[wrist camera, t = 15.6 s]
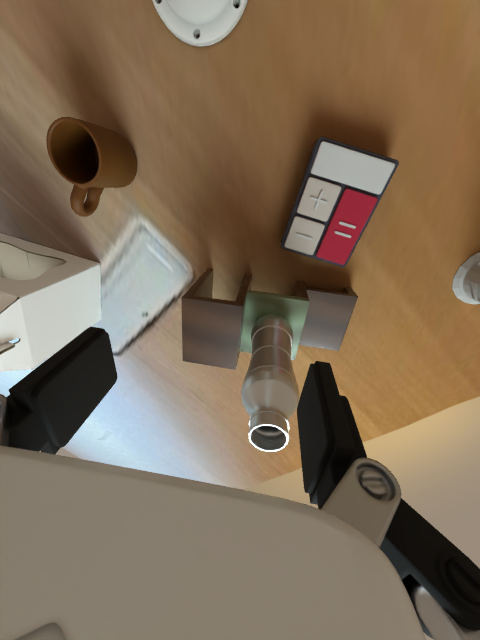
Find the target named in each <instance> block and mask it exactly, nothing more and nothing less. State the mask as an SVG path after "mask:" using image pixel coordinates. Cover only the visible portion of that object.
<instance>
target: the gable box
mask: <svg viewBox="0 0 480 640" xmlns="http://www.w3.org/2000/svg"><path fill="white" fill-rule="evenodd" d="M99 320H101V275H100V263H97V262H94V261H91V260H88V259H84V258H81V257H78V256H74V255H71V254H68V253H65V252H61V251H58V250H55V249H51V248H48V247H45V246H42V245H38V244H35V243H32V242H28V241H25V240H22V239H19V238H15V237H12V236H9V235H5V234H2V233H0V372H1V371H13V370H25V369H34V368H36V367H37V366H38V365H40V364H41V363H42V362H44V361H45V360H46V359H48V358H49V357H51V356H52V355H53V354H55V353H56V352H57V351H59V350H60V349H61V348H63V347H64V346H65V345H67V344H68V343H69V342H71V341H72V340H73V339H74V338H76V337H77V336H78V335H80V334H81V333H82V332H83V331H85V330H86V329H87V328H89V327H91V326H93V325H94V324H95V323H97V322H98V321H99ZM16 338H19V341H18V342H16V343H10V342H8V341H11V340H14V339H16Z"/></svg>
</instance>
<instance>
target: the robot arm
mask: <svg viewBox="0 0 480 640" xmlns="http://www.w3.org/2000/svg"><path fill="white" fill-rule="evenodd" d="M160 1H162V2H161V3H160ZM247 1H248V0H153V3H154V6H155V8H156V10H157V12H158V14H159V15H160V17H161V19H162V20H163V22H164V23H165V25H166V26H167V28H168V29H169V30H170V31H171V32H172V33H173V34H174V35H175V36H176V37H177V38H179V39H180V40H182V41H183V42H185V43H187V44H190V45H193V46H200V47H202V46H210V45H212V44H215V43H217V42H219V41H221V40H222V39H223V38H225V37H226V36H227V35H228V34H229V33H230V32H231V31H232V30H233V28H234V27H235V26H236V24H237V23H238V21H239V19H240V18H241V16H242V14H243V12H244V9H245V7H246V4H247ZM237 5H239V8H237V9H236V6H237ZM198 35H200V37H199V38H198V39H197V36H198ZM116 380H117V372H116V367H115V363H114V358H113V353H112V348H111V344H110V339H109V335H108V333H107V332H106V331H105V330H104V329H102V328H96V327H89V328H87V329H86V330H85V331H83V332H82V333H81V334H80V335H78V336H77V337H76V338H74V339H73V340H72V341H71V342H69V343H68V344H67V345H65V346H64V347H63V348H62V349H60V350H59V351H58V352H56V353H55V354H54V355H53V356H51V357H50V358H49V359H48V360H46V361H45V362H44V363H42V364H41V365H40V366H39V367H37V368H36V369H35V370H33V371H32V372H31V373H30V374H28V375H27V376H26V377H24V378H23V379H22V380H21V381H19V382H18V383H17V384H16V385H14V386H13V387H12V388H10V389H9V392H10V395H9V396H8V397H5V396H4V395H1V394H0V640H426V638H425V635H424V633H425V634H426V635H427V636H429V637H431V638H432V639H434V640H480V569H479V568H478V567H477V566H476V565H475V564H474V563H473V562H472V561H471V560H470V559H469V558H468V557H467V556H466V555H465V554H464V553H462V552H461V551H460V550H459V549H458V548H457V547H456V546H455V545H453V544H452V543H451V542H450V541H449V540H448V539H447V538H446V537H444V536H443V535H442V534H441V533H440V532H439V531H438V530H437V529H435V528H434V527H433V526H432V525H431V524H430V523H428V522H427V521H426V520H425V519H424V518H423V517H422V516H421V515H420V514H418V513H417V512H416V511H415V510H414V509H413V508H411V506H409V505H408V504H407V503H406V502H405V501H404V500H403V499H402V498H401V489H400V486H399V484H398V482H397V479H396V478H395V477H394V475H393V474H392V473H391V471H389V470H388V469H387V468H386V467H385V466H384V465H382V464H381V463H379V462H378V461H375V460H373V459H370V458H367V455H366V452H365V450H364V446H363V443H362V440H361V437H360V434H359V431H358V428H357V425H356V422H355V419H354V416H353V413H352V410H351V407H350V404H349V401H348V399H347V398H346V397H345V396H340V395H339V391H338V388H337V385H336V382H335V378H334V375H333V372H332V368H331V365H330V363H326V362H319V361H316V362H315V364H310V367H309V370H308V374H307V377H306V380H305V383H304V387H303V390H302V393H301V396H300V400H299V403H298V407H297V418H298V428H299V439H300V450H301V460H302V471H303V481H304V489H305V492H306V493H309V496H310V503H313V504H317V505H318V509H317V508H314V507H312V506H309V505H306V504H302V503H298V502H295V501H291V500H287V499H283V498H279V497H274V496H269V495H264V494H260V493H255V492H250V491H245V490H241V489H236V488H230V487H225V486H220V485H215V484H210V483H205V482H199V481H194V480H189V479H184V478H179V477H173V476H168V475H163V474H157V473H152V472H147V471H142V470H136V469H131V468H125V467H120V466H115V465H109V464H104V463H99V462H93V461H88V460H82V459H76V458H71V457H65V456H60V455H55V454H56V453H57V451H58V450H59V449H60V448H61V447H64V446H65V445H66V444H67V443H68V442H69V440H70V439H71V438H72V437H73V435H74V434H75V433H76V432H77V430H78V429H79V428H80V427H81V425H82V424H83V423H84V422H85V420H86V419H87V418H88V417H89V415H90V414H91V413H92V412H93V410H94V409H95V408H96V406H97V405H98V404H99V403H100V401H101V400H102V399H103V398H104V396H105V395H106V394H107V393H108V391H109V390H110V389H111V388H112V386H113V385H114V384H115V382H116ZM39 451H41V452H39ZM423 632H424V633H423Z"/></svg>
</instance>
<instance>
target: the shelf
mask: <svg viewBox="0 0 480 640" xmlns="http://www.w3.org/2000/svg"><path fill="white" fill-rule="evenodd" d="M251 280H252V275H250V274H246V275H245V277H244V280H243V283H242V286H241V288H240V291H239V294H238V297H237V299H236V302H235V301H228V300H221V299H214V298H212V285H213V269H206V271H205V272H204V273H203V274H202V275H201V276H200V277H199V279H198V280H197V281H196V282H195V283H194V284H193V285H192V286H191V288H190V289H189V290H188V291H187V292H186V293H185V294H184V295H183V297H182V341H183V361H186V362H192V363H198V364H204V365H210V366H216V367H222V368H228V369H235V370H236V366H237V362H238V358H239V353H240V351H242V352H248V353H252V344H251V331H252V328H253V326H254V324H255V323H256V321H257V320H258V319H259V318H260V317H262V316H264V315H267V314H277V315H280V316H282V317H284V318H285V319H286V320H287V321H288V322H289V323H290V325H291V327H292V330H293V334H294V337H293V345H292V348H291V359H292V360H295V357H296V353H297V350H298V346H299V345H305V346H311V347H318V348H324V349H331V350H337V351H339V349H340V346H341V343H342V340H343V337H344V335H345V332H346V329H347V326H348V323H349V321H350V318H351V315H352V312H353V309H354V307H355V304H356V301H357V298H358V296H357V295H356V293H355V292H354V291H353V289H352V288H346V287H345V289H344V292H337V291H329V290H322V289H315V288H308V287H305V284H304V282H302V281H297V285H296V290H295V294H294V296H288V295H281V294H274V293H266V292H259V291H252V290H250V288H251Z"/></svg>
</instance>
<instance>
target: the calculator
mask: <svg viewBox="0 0 480 640" xmlns="http://www.w3.org/2000/svg"><path fill="white" fill-rule="evenodd" d="M398 164H399V162H398V161H397V160H395V159H392V158H389V157H386V156H382V155H379V154H376V153H373V152H370V151H367V150H363V149H360V148H357V147H354V146H351V145H348V144H345V143H341V142H338V141H335V140H332V139H329V138H326V137H320V138H319V139H318V140H317V141H316V142H315V145H314V147H313V150H312V153H311V156H310V159H309V162H308V165H307V168H306V171H305V174H304V177H303V180H302V183H301V185H300V188H299V191H298V194H297V197H296V200H295V203H294V205H293V208H292V211H291V214H290V217H289V220H288V223H287V226H286V228H285V231H284V234H283V237H282V240H281V248H282V249H285V250H289V251H292V252H295V253H298V254H301V255H305V256H308V257H311V258H314V259H318V260H321V261H324V262H327V263H330V264H334V265H337V266H340V267H345V266H346V264H347V262H348V261H349V259H350V257H351V255H352V253H353V251H354V249H355V247H356V245H357V243H358V241H359V239H360V237H361V236H362V234H363V232H364V230H365V228H366V226H367V224H368V222H369V220H370V218H371V216H372V214H373V213H374V211H375V209H376V207H377V205H378V203H379V201H380V199H381V197H382V195H383V193H384V191H385V189H386V188H387V186H388V184H389V182H390V180H391V178H392V176H393V174H394V172H395V170H396V168H397V166H398Z"/></svg>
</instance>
